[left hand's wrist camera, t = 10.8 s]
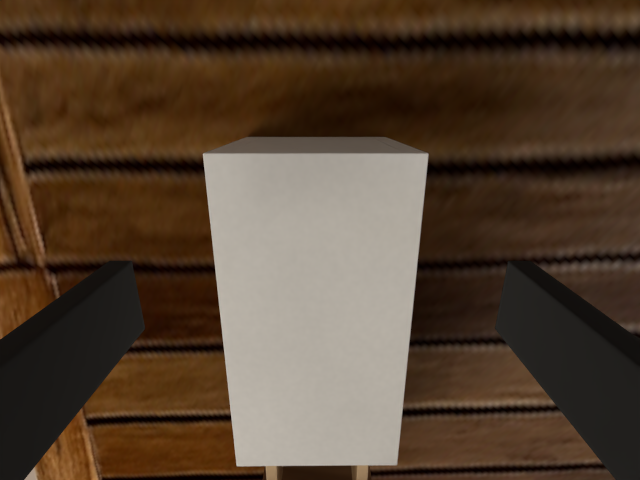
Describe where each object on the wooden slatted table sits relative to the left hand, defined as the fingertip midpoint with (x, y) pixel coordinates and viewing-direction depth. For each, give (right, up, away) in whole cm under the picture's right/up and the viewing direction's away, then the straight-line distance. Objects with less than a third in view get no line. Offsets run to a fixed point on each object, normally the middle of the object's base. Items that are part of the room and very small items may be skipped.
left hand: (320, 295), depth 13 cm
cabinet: (0, 0, +18) cm, 17 cm away
